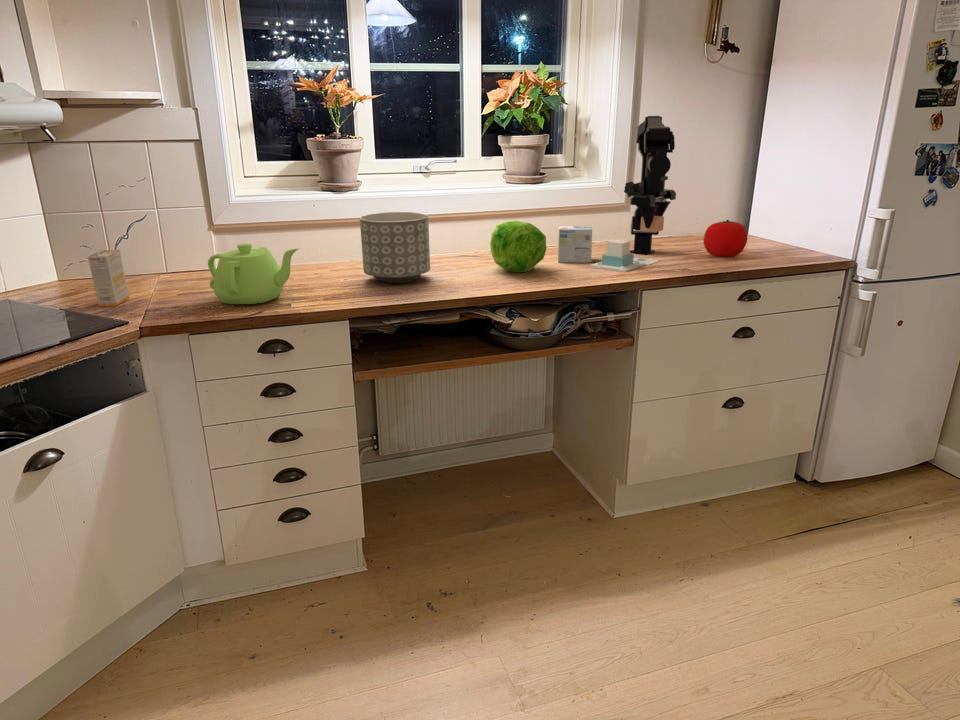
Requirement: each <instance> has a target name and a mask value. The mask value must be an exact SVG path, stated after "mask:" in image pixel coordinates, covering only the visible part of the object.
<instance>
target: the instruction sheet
mask: <svg viewBox="0 0 960 720" xmlns="http://www.w3.org/2000/svg"><path fill="white" fill-rule="evenodd" d="M633 262H639V263H644V266H645V265H646V266H650V265H653V264H656V263H658V262H660V260H656V259H655V260H654V259H649V258H641V257H634V259H633Z"/></svg>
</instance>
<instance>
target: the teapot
mask: <svg viewBox="0 0 960 720" xmlns="http://www.w3.org/2000/svg"><path fill="white" fill-rule="evenodd" d="M252 246H253V244H251V243H239V244H238V245H236V247H237V249H234V250H230V251H227V252H224V253H215V254H214V255H211V256H210V257H209V259H208V261H207V266H208V269H209V272H210V274H211V277H212V278H211V279H210V281H209V287H210V288H211V290H213V291H214V295H215V296H216V297H217V299H218V300H219V301H220V302H221V303H223V304H228V305H258V304H257V303H260V304H263V303H266V302H269V301H272V300H275V299H276V298H278V297H279V296H280V295H281V293H282V292H283V290H284V287H285V284H286V283H287V281H289V278H290V275H291V261H292V257H293V255H294V253H296V252H297V251H298V250H300V248H293V249H288V250H286V251H285V253H283V257H282V261H281V262H282V263H281V268H280V265H279V264H278V262H277V260H276V258H275V257H274V255H273V253H272V252H271V251H270V250H269V249H268V248H267V247H265V246H260V247H258V248H253V247H252ZM216 259H219V260H218V263H217V266H215V260H216Z"/></svg>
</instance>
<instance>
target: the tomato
mask: <svg viewBox="0 0 960 720" xmlns="http://www.w3.org/2000/svg"><path fill="white" fill-rule="evenodd" d="M747 242H748V232H747V230H746V227H745V226H744V225H743V224H742V223H740V222H738V221H737V222H736V221H732V220H729V219H726V220H723V221H718V222H714V223H712V224H710V225H708V227H707V228H706V230H705V232H704V236H703V246H704V248H705V250H706V252H707V253H708V254H709V255H711V256H714V257H718V258H733V257H736V256H739V255H740V254H741V253H742V252H743V251H744V250H745V247H746V245H747V244H748V243H747Z"/></svg>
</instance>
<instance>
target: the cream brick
mask: <svg viewBox="0 0 960 720" xmlns="http://www.w3.org/2000/svg"><path fill="white" fill-rule="evenodd" d="M606 247H607V248H606V249H607V250H606V254H607V255H612V256H619V257H623V256H626V255H628V254H631V252H630V251H631V241H630V240H624V239H613V240H610V241H607V245H606Z"/></svg>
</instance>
